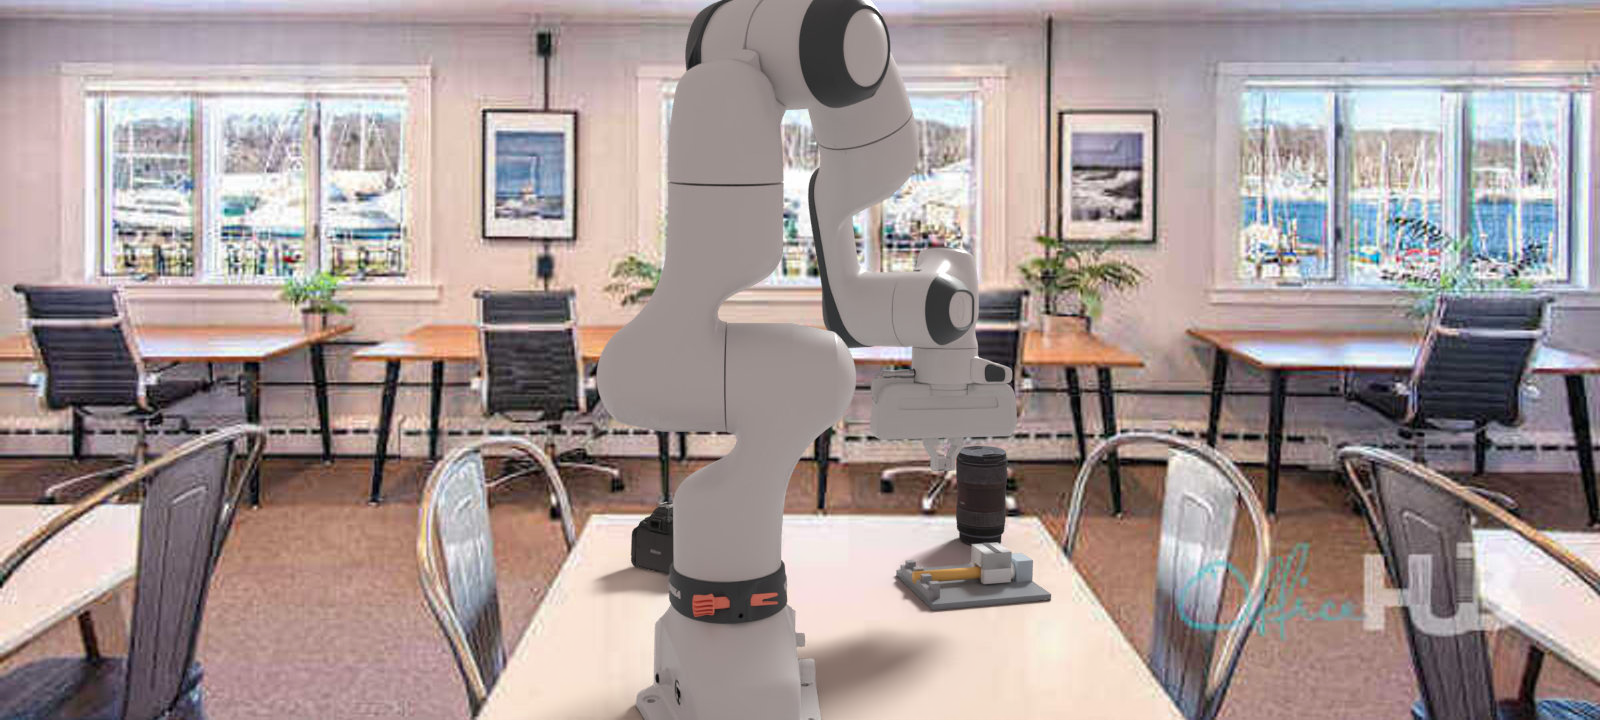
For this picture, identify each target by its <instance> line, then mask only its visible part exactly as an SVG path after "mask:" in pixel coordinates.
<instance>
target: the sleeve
mask: <svg viewBox="0 0 1600 720" xmlns="http://www.w3.org/2000/svg"><path fill="white" fill-rule="evenodd" d="M1012 553H1013V552H1012V551H1011V550H1010V549H1009V548H1007V547H1005V546H1003V544H1001V543H1000V544H999V543H982V544H972V545H971V554H970V555H971V557H970V559H971V560H970V564H971V567H981V582H982V583H983V584H993V583H1005V582H1011V559H1012Z"/></svg>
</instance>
